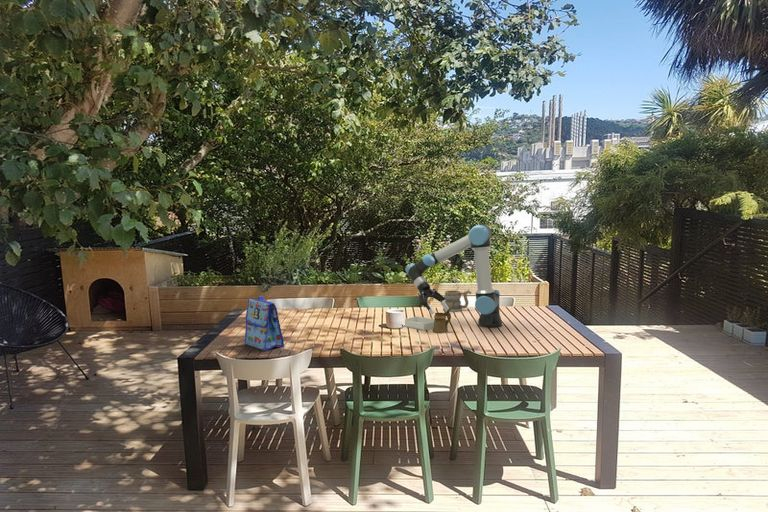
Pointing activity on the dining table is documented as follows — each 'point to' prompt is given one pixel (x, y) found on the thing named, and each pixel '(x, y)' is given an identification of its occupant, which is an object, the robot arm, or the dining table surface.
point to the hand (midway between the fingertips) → (440, 311)
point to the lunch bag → (262, 325)
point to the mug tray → (419, 323)
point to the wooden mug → (442, 321)
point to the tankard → (455, 300)
